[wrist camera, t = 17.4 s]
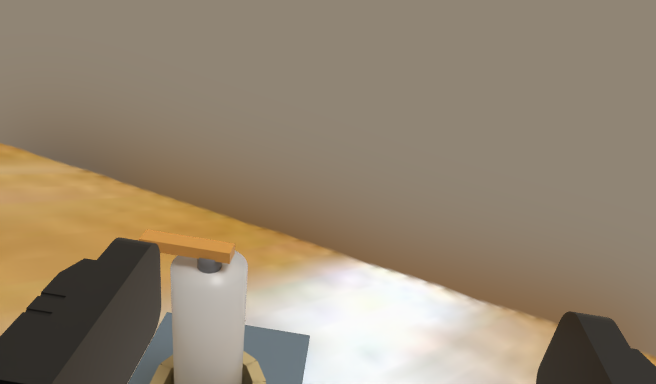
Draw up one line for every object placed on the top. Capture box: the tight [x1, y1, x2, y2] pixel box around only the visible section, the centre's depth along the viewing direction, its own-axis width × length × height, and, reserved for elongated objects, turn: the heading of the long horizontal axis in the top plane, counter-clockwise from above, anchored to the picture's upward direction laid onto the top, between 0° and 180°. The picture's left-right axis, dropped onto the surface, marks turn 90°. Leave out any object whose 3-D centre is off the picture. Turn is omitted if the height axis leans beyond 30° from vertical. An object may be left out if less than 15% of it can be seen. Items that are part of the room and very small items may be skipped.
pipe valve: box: [139, 229, 248, 384], centre depth 37 cm, size 7×5×16 cm
